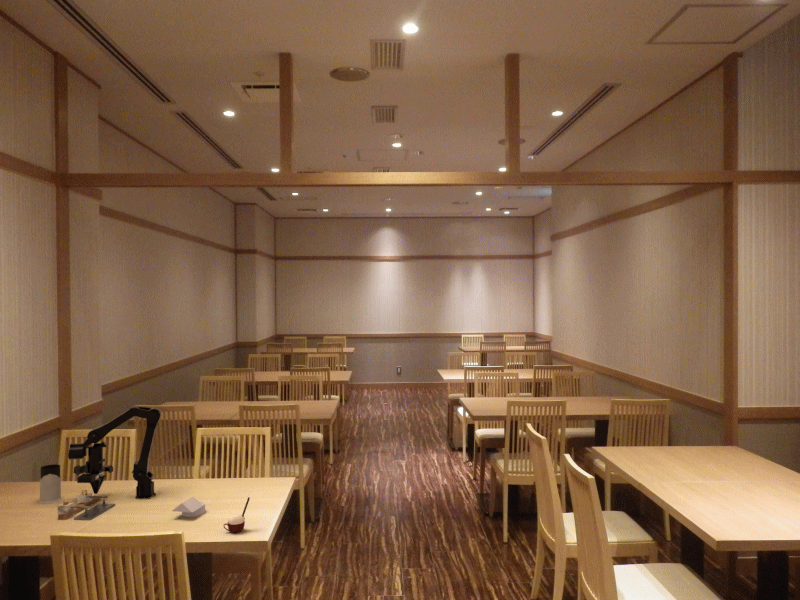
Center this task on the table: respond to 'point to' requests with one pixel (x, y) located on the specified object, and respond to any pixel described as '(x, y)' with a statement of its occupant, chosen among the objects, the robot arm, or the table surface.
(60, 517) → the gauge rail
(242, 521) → the cocoa
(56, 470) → the glass holder
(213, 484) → the table surface
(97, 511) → the flange plate
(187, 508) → the wedge on round base
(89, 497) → the carriage
